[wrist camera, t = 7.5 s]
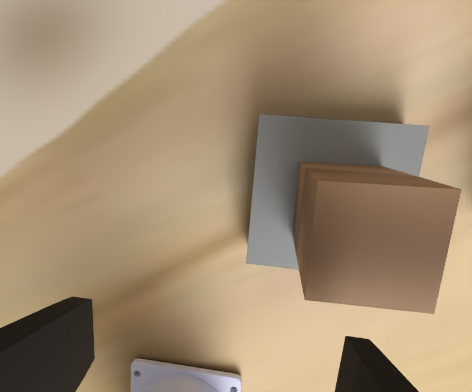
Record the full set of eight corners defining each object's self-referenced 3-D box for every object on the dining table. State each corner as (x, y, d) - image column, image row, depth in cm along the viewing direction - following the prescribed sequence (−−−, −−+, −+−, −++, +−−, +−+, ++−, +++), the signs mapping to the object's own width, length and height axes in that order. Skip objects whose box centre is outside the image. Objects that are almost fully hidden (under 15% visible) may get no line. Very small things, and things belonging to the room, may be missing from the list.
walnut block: (370, 243, 15) (433, 314, 9) (292, 236, 15) (304, 299, 10) (382, 166, 14) (461, 189, 8) (299, 161, 14) (317, 180, 9)
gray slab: (375, 257, 18) (396, 281, 15) (249, 243, 19) (246, 263, 16) (400, 127, 16) (429, 126, 14) (260, 117, 17) (259, 114, 14)
